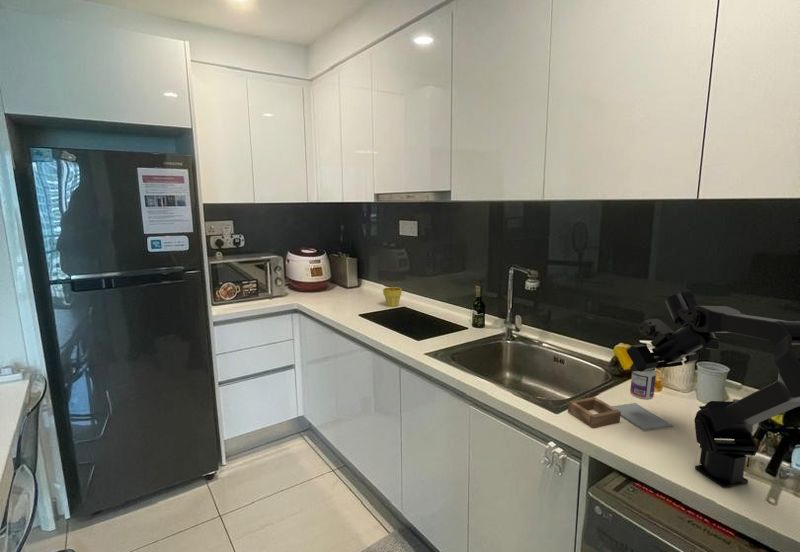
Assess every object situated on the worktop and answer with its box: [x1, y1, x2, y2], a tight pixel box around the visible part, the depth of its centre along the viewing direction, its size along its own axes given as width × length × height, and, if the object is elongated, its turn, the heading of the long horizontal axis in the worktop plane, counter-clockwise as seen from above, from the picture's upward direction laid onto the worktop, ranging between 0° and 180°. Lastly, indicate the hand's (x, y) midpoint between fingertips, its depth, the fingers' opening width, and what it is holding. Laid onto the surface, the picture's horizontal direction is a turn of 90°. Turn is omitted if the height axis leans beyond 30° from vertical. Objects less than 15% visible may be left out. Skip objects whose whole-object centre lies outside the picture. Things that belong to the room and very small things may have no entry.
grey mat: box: [611, 402, 674, 432], centre depth 108 cm, size 12×9×1 cm
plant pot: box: [382, 286, 402, 308], centre depth 228 cm, size 10×10×10 cm
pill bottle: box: [629, 370, 657, 401], centre depth 106 cm, size 5×5×10 cm
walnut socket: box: [567, 396, 621, 429], centre depth 108 cm, size 9×9×3 cm
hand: (639, 368), depth 107 cm, fingers closed on pill bottle, 5 cm apart
